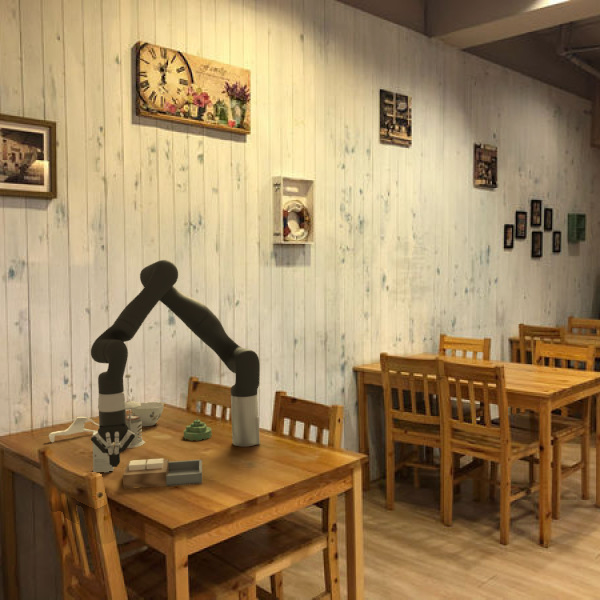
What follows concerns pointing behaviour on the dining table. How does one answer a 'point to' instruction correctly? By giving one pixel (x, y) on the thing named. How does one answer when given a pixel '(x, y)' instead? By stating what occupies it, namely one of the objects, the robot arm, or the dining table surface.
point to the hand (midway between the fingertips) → (114, 466)
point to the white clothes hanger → (73, 428)
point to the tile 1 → (137, 465)
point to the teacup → (149, 412)
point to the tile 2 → (155, 463)
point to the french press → (132, 422)
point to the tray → (184, 473)
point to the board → (146, 476)
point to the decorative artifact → (197, 431)
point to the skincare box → (100, 458)
